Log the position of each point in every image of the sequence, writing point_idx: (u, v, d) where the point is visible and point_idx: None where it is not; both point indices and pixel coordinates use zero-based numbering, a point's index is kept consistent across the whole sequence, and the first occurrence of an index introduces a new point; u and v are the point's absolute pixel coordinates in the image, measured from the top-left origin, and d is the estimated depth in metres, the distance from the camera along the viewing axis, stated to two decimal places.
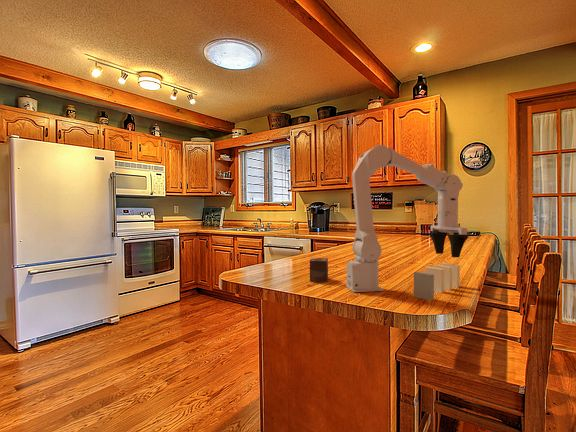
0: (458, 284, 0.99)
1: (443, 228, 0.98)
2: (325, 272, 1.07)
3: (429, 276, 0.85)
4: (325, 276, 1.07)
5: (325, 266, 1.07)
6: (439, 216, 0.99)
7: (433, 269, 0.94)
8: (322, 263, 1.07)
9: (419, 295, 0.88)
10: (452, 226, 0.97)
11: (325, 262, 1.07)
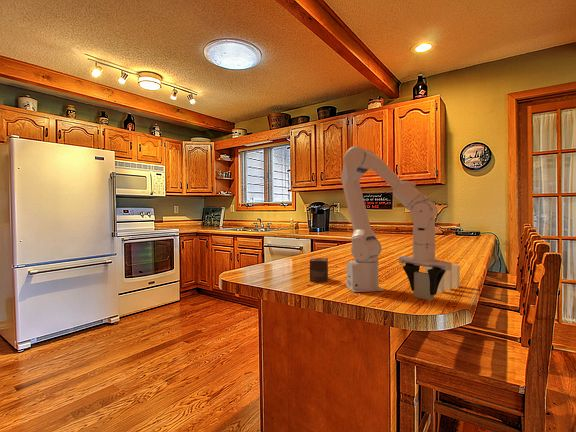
0: (458, 284, 0.99)
1: (424, 262, 0.84)
2: (325, 272, 1.07)
3: None
4: (325, 276, 1.07)
5: (325, 266, 1.07)
6: (417, 248, 0.85)
7: None
8: (322, 263, 1.07)
9: (419, 295, 0.88)
10: (432, 260, 0.85)
11: (325, 262, 1.07)
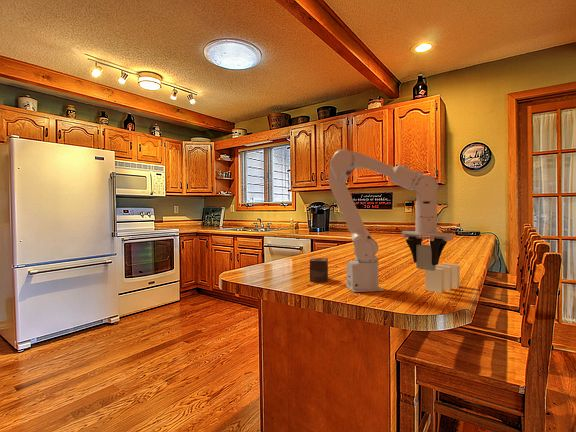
0: (458, 284, 0.99)
1: (426, 234, 0.88)
2: (325, 272, 1.07)
3: None
4: (325, 276, 1.07)
5: (325, 266, 1.07)
6: (420, 221, 0.90)
7: None
8: (322, 263, 1.07)
9: (421, 266, 0.92)
10: (434, 232, 0.89)
11: (325, 262, 1.07)
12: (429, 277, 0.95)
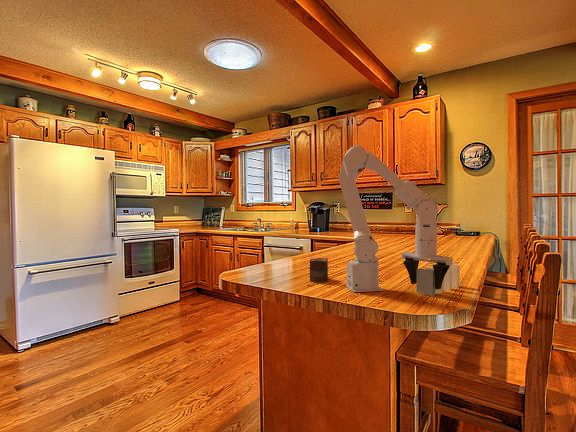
0: (458, 284, 0.99)
1: (426, 258, 0.89)
2: (325, 272, 1.07)
3: (431, 273, 0.89)
4: (325, 276, 1.07)
5: (325, 266, 1.07)
6: (420, 244, 0.90)
7: (433, 269, 0.94)
8: (322, 263, 1.07)
9: (421, 291, 0.92)
10: (434, 255, 0.89)
11: (325, 262, 1.07)
12: None
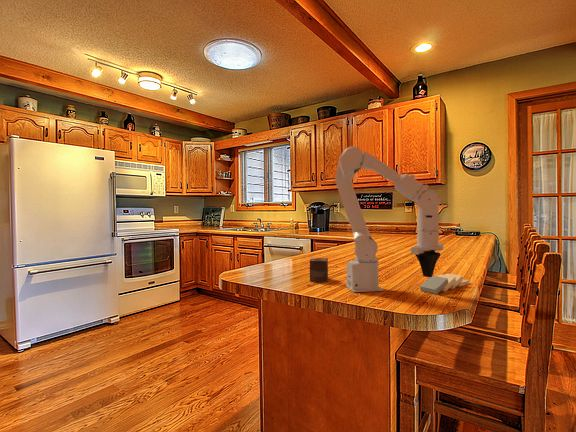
0: (460, 285, 1.00)
1: None
2: (325, 272, 1.07)
3: (445, 278, 0.94)
4: (325, 276, 1.07)
5: (325, 266, 1.07)
6: None
7: (447, 276, 0.99)
8: (322, 263, 1.07)
9: (426, 286, 0.94)
10: (421, 245, 0.91)
11: (325, 262, 1.07)
12: None
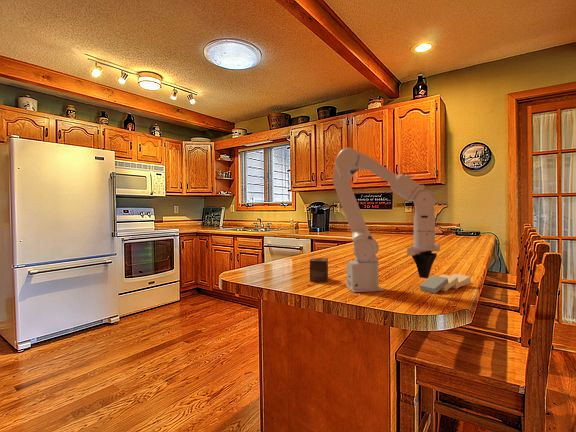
0: None
1: None
2: (325, 272, 1.07)
3: (445, 278, 0.95)
4: (325, 276, 1.07)
5: (325, 266, 1.07)
6: None
7: (449, 276, 0.99)
8: (322, 263, 1.07)
9: (425, 285, 0.94)
10: (417, 246, 0.89)
11: (325, 262, 1.07)
12: None
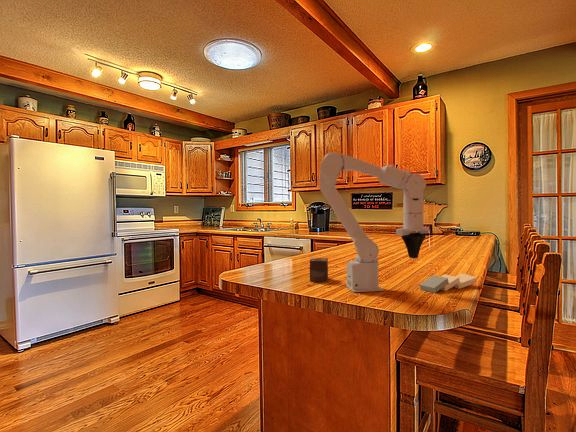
0: None
1: None
2: (325, 272, 1.07)
3: (445, 278, 0.95)
4: (325, 276, 1.07)
5: (325, 266, 1.07)
6: None
7: (451, 276, 0.99)
8: (322, 263, 1.07)
9: (425, 284, 0.95)
10: (406, 227, 0.94)
11: (325, 262, 1.07)
12: None
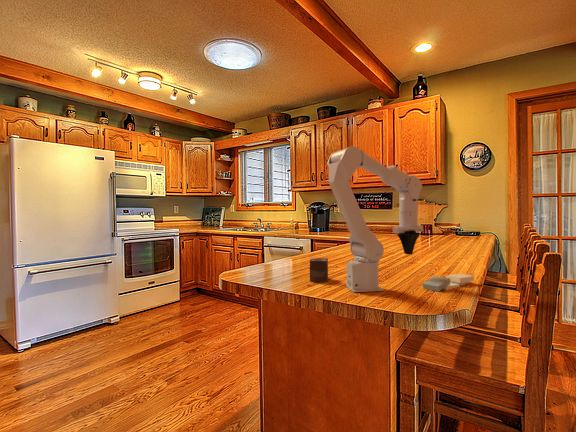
0: (462, 284, 1.01)
1: None
2: (325, 272, 1.07)
3: (447, 278, 0.97)
4: (325, 276, 1.07)
5: (325, 266, 1.07)
6: None
7: None
8: (322, 263, 1.07)
9: (429, 283, 0.96)
10: (402, 225, 1.02)
11: (325, 262, 1.07)
12: None
